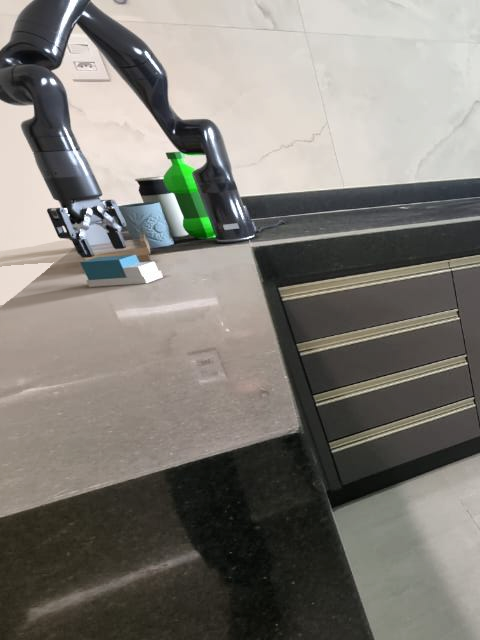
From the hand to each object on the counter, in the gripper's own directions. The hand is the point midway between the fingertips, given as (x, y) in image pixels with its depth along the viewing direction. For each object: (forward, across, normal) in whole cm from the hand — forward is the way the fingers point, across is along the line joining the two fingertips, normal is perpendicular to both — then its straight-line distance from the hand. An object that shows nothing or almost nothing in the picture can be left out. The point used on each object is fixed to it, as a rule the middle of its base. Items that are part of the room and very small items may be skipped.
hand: (105, 252), depth 115 cm
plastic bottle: (+6, +54, +14) cm, 56 cm away
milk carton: (+6, +48, +42) cm, 64 cm away
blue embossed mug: (+7, +44, +23) cm, 50 cm away
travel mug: (+6, +59, +28) cm, 66 cm away
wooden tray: (+7, +24, +17) cm, 30 cm away
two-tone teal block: (+7, 0, -2) cm, 7 cm away
